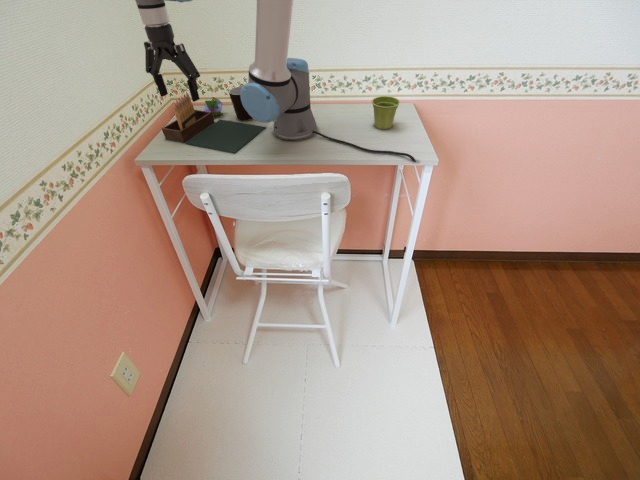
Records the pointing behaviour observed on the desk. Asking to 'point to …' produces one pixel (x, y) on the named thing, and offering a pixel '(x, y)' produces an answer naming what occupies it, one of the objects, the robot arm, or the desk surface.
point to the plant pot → (384, 111)
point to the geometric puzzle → (213, 106)
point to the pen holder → (187, 133)
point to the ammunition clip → (185, 112)
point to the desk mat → (226, 136)
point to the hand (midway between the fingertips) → (180, 97)
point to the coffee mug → (238, 104)
